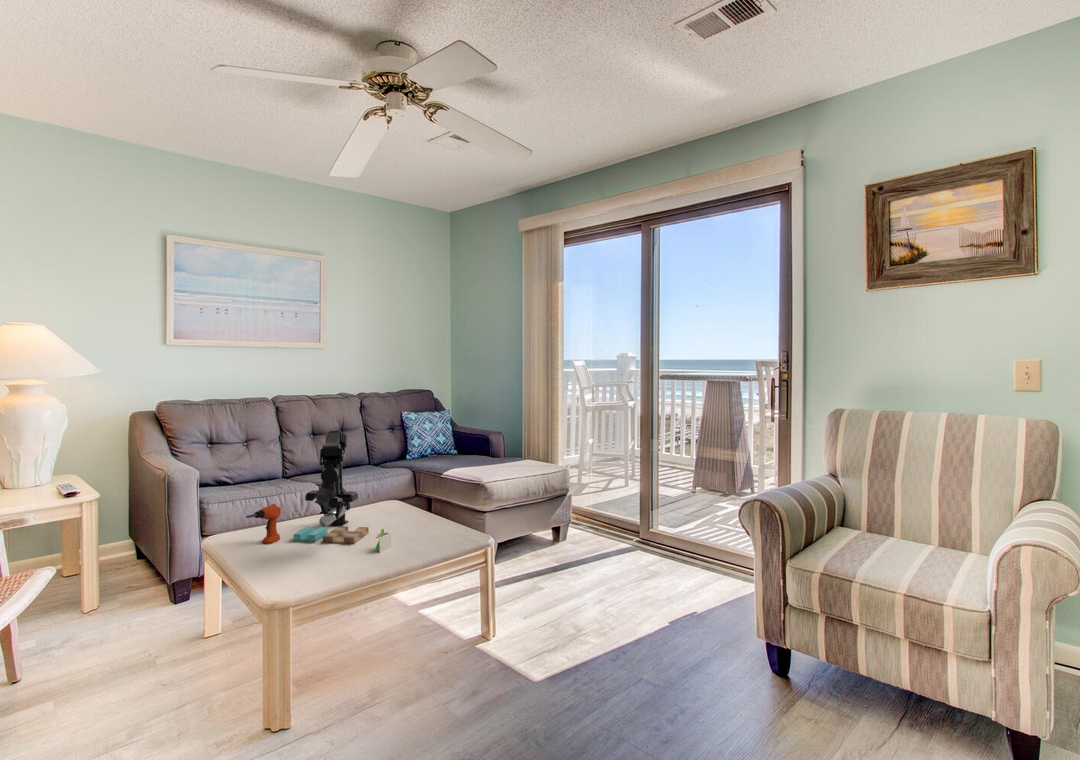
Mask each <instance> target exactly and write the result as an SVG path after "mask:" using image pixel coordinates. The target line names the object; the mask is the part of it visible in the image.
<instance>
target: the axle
mask: <svg viewBox="0 0 1080 760" xmlns="http://www.w3.org/2000/svg"><path fill="white" fill-rule="evenodd" d="M345 507H346V506H345ZM345 507H344V506H343V508H342V511H341V513H340V516H339V517H341V516H342V515H343V514H345V515H346V512H347V510H346V508H345ZM335 520H337V519H336V508H334V509H333V510H331V511H329V512H328V513H327V514H326V515H324V514H323V516H321V517H320V518H319V525H320V527H327V528H328V526H331V525H330V524H331V523H333V522H334V521H335Z"/></svg>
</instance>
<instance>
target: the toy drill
mask: <svg viewBox="0 0 1080 760" xmlns="http://www.w3.org/2000/svg"><path fill="white" fill-rule="evenodd" d="M281 511H282V509H281V507H280V506H279V505H277V504H276V503H273V504H271V505H268V506H264V507H263V508H261V509H259V510H257V511H255V512H254V513H252V514H247V515H246V516H245V518H246V519H249V518H255V519H263V520H267V522H266V526H265V530H266V535H265V537H263V539H262V540H261V544H263V545H272V544H274V543H277V542H278V541H280V540H281V536H280V533H278V530H277V521H278V519H279V517H280V516H281Z"/></svg>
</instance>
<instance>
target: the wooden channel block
mask: <svg viewBox="0 0 1080 760" xmlns="http://www.w3.org/2000/svg"><path fill="white" fill-rule="evenodd" d="M369 529H370V528H369V526H359V527H357V528H355V529H354V530H353V531H351V530H350V531H349V526H347V525H346V526H344V525H343V526H336V528H334V529H332V530H331V531H328V532H327V534H326V535H324V536H323V538H322V544H337V545H338V544H341V545H342V544H343V545H355V544H356V543H358V542H359V541H360V540H362V539H363V538H364V537H366V536H367V535H368V534H370V533H369Z"/></svg>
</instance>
